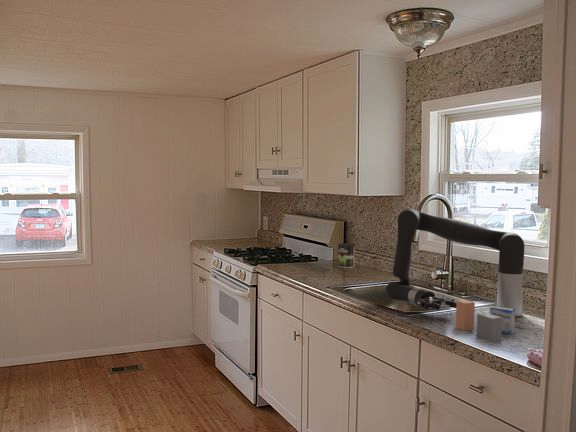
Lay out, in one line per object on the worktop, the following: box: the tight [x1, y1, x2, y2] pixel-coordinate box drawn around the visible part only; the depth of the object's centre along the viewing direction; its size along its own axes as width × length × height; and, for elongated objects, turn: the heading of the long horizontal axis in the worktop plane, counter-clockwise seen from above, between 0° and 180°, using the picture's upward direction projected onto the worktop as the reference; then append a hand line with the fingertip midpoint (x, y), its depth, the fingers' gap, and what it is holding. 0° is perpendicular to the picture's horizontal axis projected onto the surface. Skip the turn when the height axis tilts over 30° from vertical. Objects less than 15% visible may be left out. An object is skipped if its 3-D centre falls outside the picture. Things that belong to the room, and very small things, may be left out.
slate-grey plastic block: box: [476, 312, 503, 343], centre depth 191 cm, size 4×7×8 cm, turn 24°
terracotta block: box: [455, 299, 476, 331], centre depth 203 cm, size 4×4×10 cm
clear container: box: [337, 242, 356, 269], centre depth 338 cm, size 10×10×14 cm
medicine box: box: [489, 305, 516, 335], centre depth 200 cm, size 8×4×9 cm, turn 56°
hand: (448, 306), depth 211 cm, fingers open, 8 cm apart
